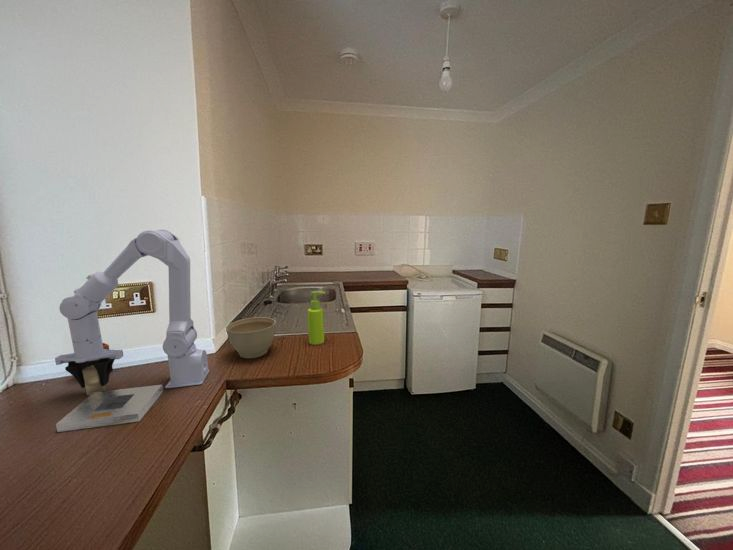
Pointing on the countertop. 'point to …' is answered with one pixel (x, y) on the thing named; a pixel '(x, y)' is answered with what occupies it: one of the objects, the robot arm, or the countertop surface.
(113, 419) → the light grey flat block
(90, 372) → the barrel peg
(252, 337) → the planter bowl
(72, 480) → the countertop surface
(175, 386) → the robot arm
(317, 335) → the soap dispenser
